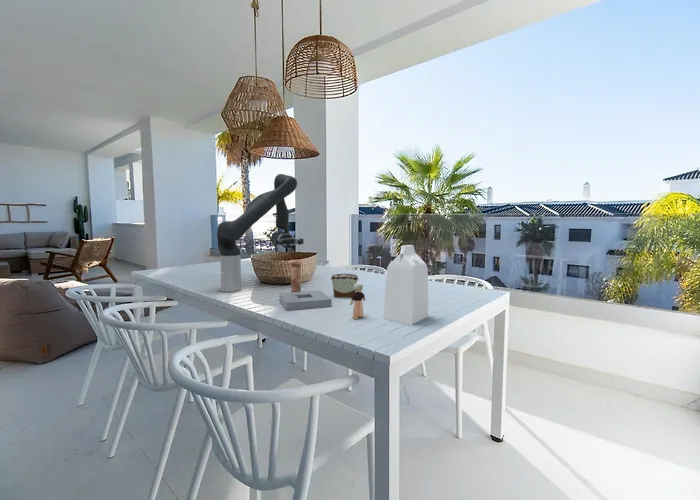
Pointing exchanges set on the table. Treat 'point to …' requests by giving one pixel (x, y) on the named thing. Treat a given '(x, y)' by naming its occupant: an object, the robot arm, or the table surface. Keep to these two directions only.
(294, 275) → the headed peg
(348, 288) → the food container
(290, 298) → the socket block
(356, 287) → the grandmother figurine
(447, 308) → the table surface
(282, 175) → the robot arm
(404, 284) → the milk
